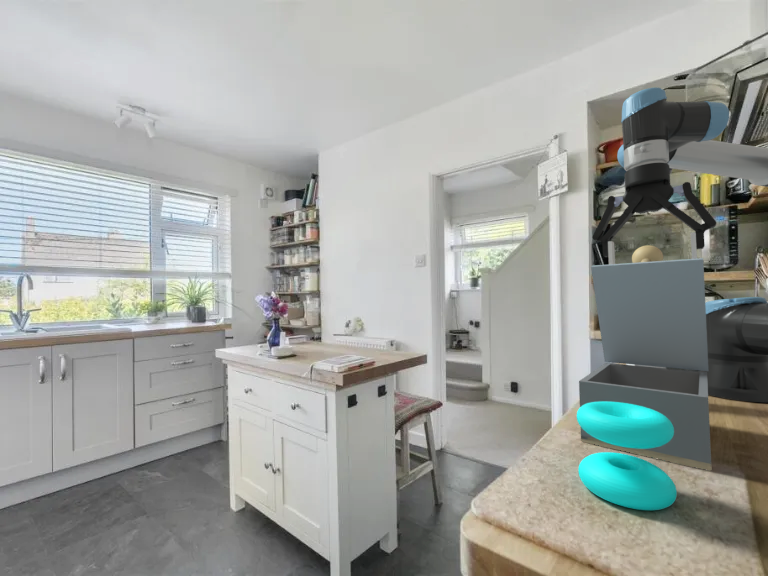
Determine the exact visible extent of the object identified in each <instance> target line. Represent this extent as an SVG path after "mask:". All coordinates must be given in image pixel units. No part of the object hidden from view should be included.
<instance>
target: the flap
mask: <svg viewBox="0 0 768 576" xmlns="http://www.w3.org/2000/svg"><path fill="white" fill-rule="evenodd" d="M590 268H591V276H592V283H593V289H594V295H595V296H594V297H595V304H596V305H595V306H596V312H597V317H598V318H597V319H598V324H599V329H600V330H599V331H600V339H601V344H602V346H601V347H602V353H603V358H604V359H603V360H604V363H613V364H624V365H626V364H634V365H645V366H656V367H666V368H667V369H678V370H689V371H699V370H700V371H708V350H707V329H706V307H705V303H706V287H705V286H706V285H705V270H704V269H705V265H704V258H703V257H699V258H698V257H697V259H692V258H689V259H688V258H685V259H684V258H683V259H671V260H668V259H667V260H664V254H663V251H662V250H661V249H660V248H659V247H657V246H655V245H648V244H647V245H642V246H640V247H638V248H636V249H635V250H634V251H633V253H632V255H631V262H628V263H627V262H625V263H615V264H609V263H608V264H597V265H591V267H590Z"/></svg>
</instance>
